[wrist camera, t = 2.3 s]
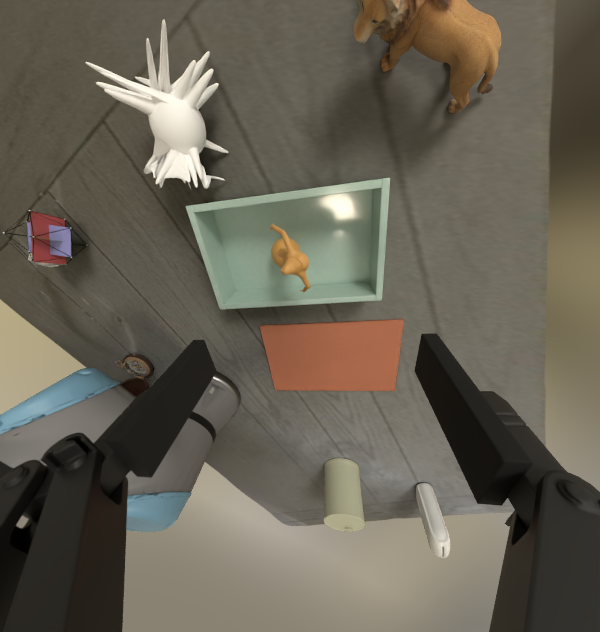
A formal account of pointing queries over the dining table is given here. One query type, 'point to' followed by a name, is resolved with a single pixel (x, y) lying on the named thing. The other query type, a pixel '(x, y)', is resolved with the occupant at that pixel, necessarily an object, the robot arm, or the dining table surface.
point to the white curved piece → (432, 520)
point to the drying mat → (334, 355)
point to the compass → (136, 373)
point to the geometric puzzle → (48, 240)
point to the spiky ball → (170, 114)
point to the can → (343, 496)
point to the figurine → (290, 257)
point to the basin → (308, 232)
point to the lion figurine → (436, 38)
